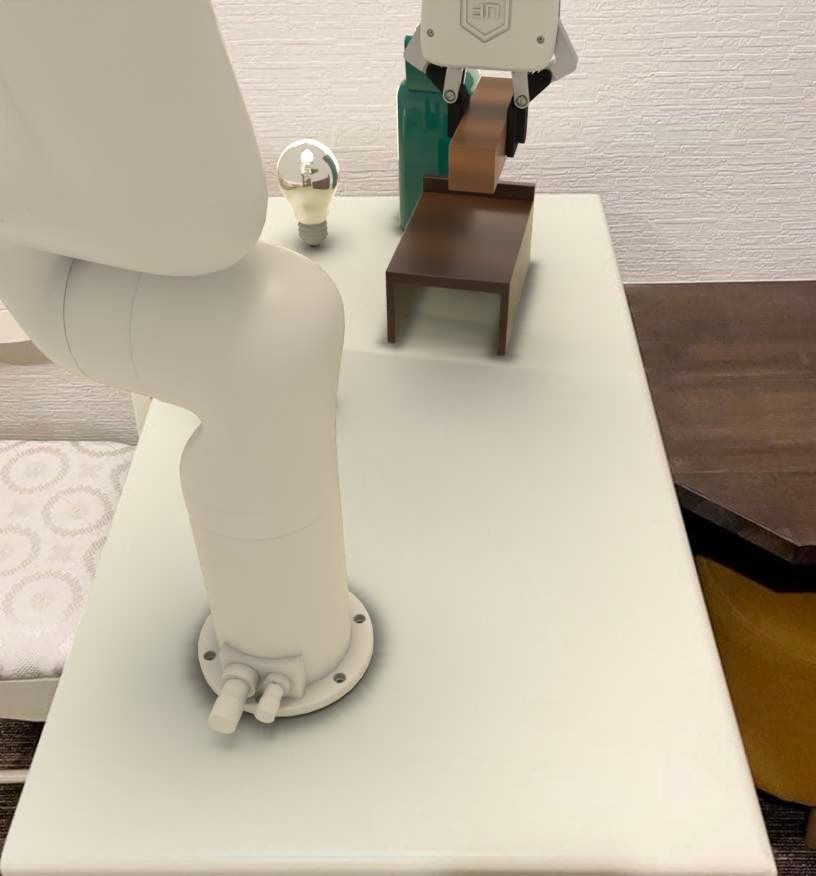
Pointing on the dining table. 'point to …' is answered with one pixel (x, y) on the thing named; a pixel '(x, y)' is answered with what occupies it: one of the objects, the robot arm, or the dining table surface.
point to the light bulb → (309, 186)
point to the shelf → (463, 248)
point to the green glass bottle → (422, 133)
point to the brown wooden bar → (481, 138)
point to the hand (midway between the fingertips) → (486, 146)
